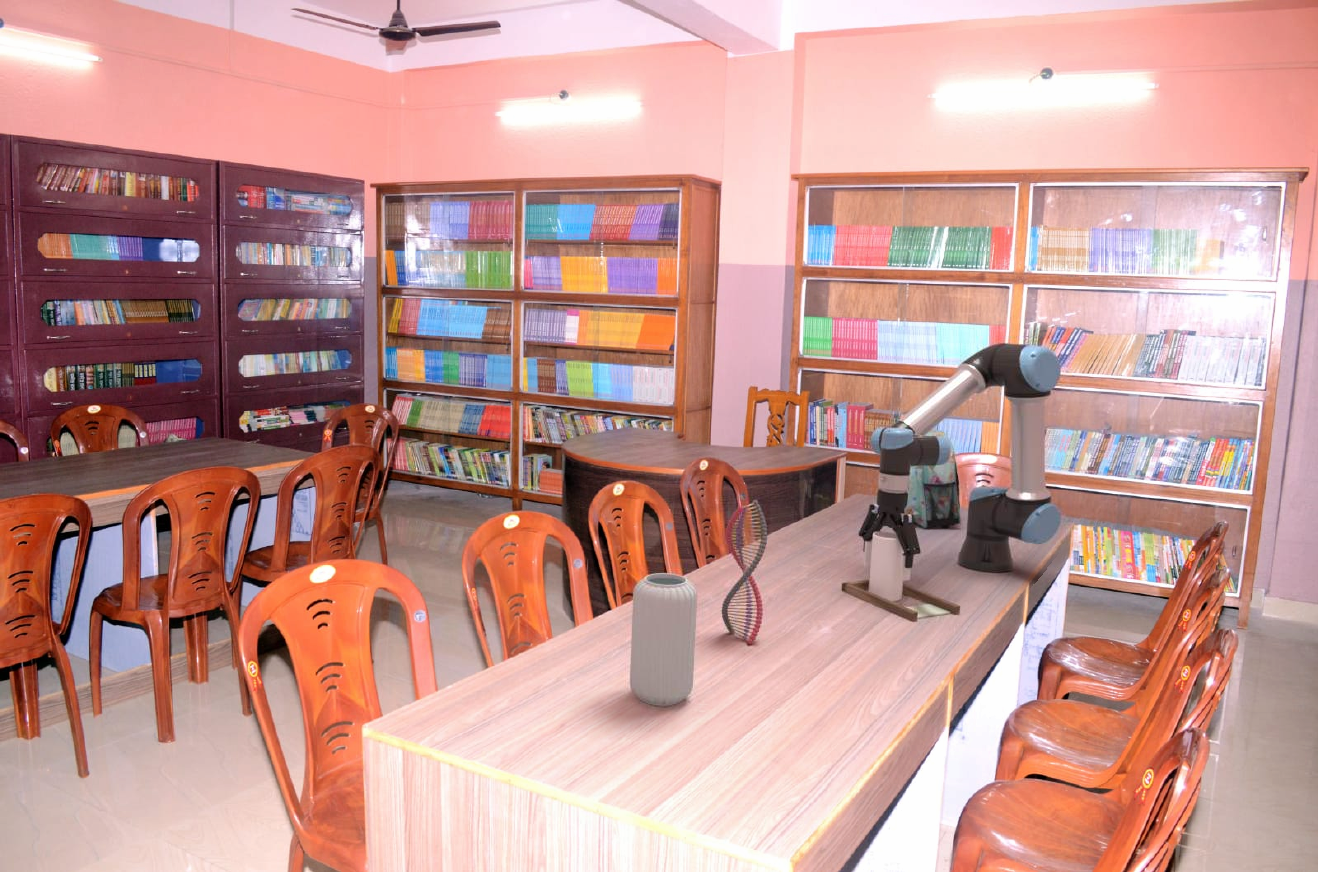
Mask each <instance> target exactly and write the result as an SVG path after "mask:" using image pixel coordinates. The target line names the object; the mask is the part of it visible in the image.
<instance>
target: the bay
mask: <svg viewBox="0 0 1318 872" xmlns="http://www.w3.org/2000/svg"><path fill="white" fill-rule="evenodd" d="M869 580H870V578H869V579H864V580H854V581H847V582H842V583H841V591H842V592H845V593H846V594H849V595H851V596H853V597H855V598H858V599H861V600H863V601H865V602H867V603H870V604H871V605H873V606H876V607H878V608H881V609H883V610H885V611H888V612H890V613H892V614H894V615H897V616H899V617H901V618H904V619H906V620H908V621H910V622H917V621H918V620H919V619H925V618H926V619H927V618H931V617H938V616H945V615H950V614H951V615H954V616H956V615H960V612H961V610H960V609H961V606H960V605H958V604H955V603H953V602H951V601H948V600H946V599H944V598H940V597H938V596H936V595H933V594H931V593H927V592H925V591H923V590H921V589H918V588H915V587H914V586H910V585H908V584H905V583H903V587H902V595H905V596H907V597H910V598H912V599H916V600H918V601H920V602H922V603H924V604H918V605H911V606H903V605H902V604H899V603H896V602H895V601H890V600H887V599H885V598H882V597H880V596H878V595H875V594H873V593H871V592H869Z"/></svg>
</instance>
